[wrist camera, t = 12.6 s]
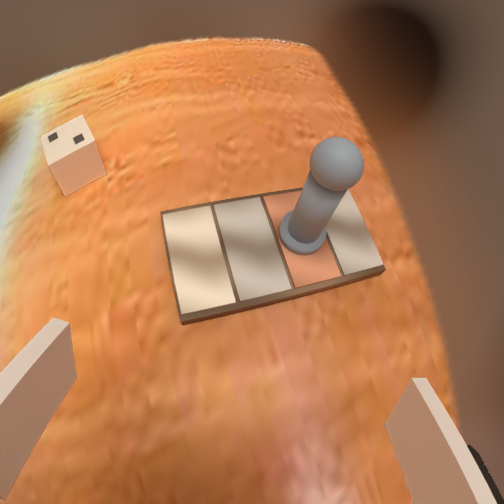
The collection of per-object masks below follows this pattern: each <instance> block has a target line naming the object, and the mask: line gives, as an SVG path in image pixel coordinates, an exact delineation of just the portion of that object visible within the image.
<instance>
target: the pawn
mask: <svg viewBox="0 0 504 504" xmlns="http://www.w3.org/2000/svg"><path fill="white" fill-rule="evenodd" d="M310 169H311V170H310V172H309V175H308V177H307V179H306V182H305V184H304V187H303V189H302V191H301V194H300V196H299V199H298V201H297V203H296V206H295V208H294V210H292V211H290V212H288V213H287V214H286V215H285V216H284V217H283V219H282V221H281V224H280V227H279V238H280V241H281V242H282V244H283V245H284V247H285V248H286V249H288V250H289V251H291V252H292V253H295V254H298V255H310V254H313V253H315V252H316V251H317V250H319V248H320V247H321V245H322V244H323V242H324V241H325V239H326V233H327V232H326V227H325V226H326V224H327V223H328V221H329V220H330V218H331V216H332V215H333V213H334V211H335V210H336V208H337V206H338V205H339V203H340V201H341V200H342V198H343V196H344V195H345V193H346V191H347V190H348V189H349V188H351V187H353V186H354V185H355V184H356V183H357V182H358V181H359V180H360V178H361V176H362V173H363V170H364V160H363V156H362V154H361V152H360V150H359V149H358V147H357V146H356V145H355V144H354V143H352V142H351V141H349V140H347V139H345V138H341V137H330V138H327V139H324V140H323V141H321V142H320V143H318V144H317V145H316V147H315V148H314V149H313V151H312V153H311V157H310Z"/></svg>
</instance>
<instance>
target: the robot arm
mask: <svg viewBox="0 0 504 504" xmlns="http://www.w3.org/2000/svg"><path fill="white" fill-rule="evenodd" d="M76 379H77V373H76V367H75V361H74V354H73V347H72V339H71V331H70V323H69V322H66V321H62V320H59V319H56V318H52V319H51V320H50V321H49V322H48V323H47V324H46V325H45V326H44V327H43V328H42V329H41V330H40V331H39V332H38V333H37V334H36V335H35V336H34V337H33V339H32V340H31V341H30V342H29V343H28V344H27V345H26V346H25V347H24V348H23V349H22V350H21V351H20V352H19V353H18V354H17V355H16V357H15V358H14V359H13V360H12V361H11V362H10V363H9V364H8V365H7V366H6V367H5V369H4V370H3V371H2V372H1V373H0V498H1V499H3V500H4V501H5V499H6V497H7V495H8V493H9V492H10V490H11V488H12V486H13V484H14V482H15V480H16V478H17V477H18V475H19V473H20V471H21V469H22V468H23V466H24V464H25V462H26V460H27V459H28V457H29V455H30V453H31V452H32V450H33V448H34V446H35V445H36V443H37V441H38V440H39V438H40V436H41V435H42V433H43V431H44V430H45V428H46V426H47V425H48V423H49V421H50V420H51V418H52V417H53V415H54V413H55V412H56V410H57V408H58V407H59V405H60V404H61V402H62V401H63V399H64V397H65V396H66V394H67V393H68V391H69V390H70V388H71V387H72V385H73V384H74V382H75V380H76ZM384 426H385V428H386V431H387V433H388V436H389V439H390V441H391V444H392V446H393V449H394V451H395V454H396V457H397V459H398V462H399V465H400V467H401V470H402V473H403V475H404V478H405V481H406V484H407V486H408V489H409V492H410V495H411V497H412V500H413V503H414V504H504V500H503V498H502V496H501V494H500V492H499V490H498V488H497V486H496V484H495V482H494V481H493V479H492V477H491V475H490V473H488V469H487V468H486V466H485V465H484V462H483V461H482V459H481V457H480V455H479V453H478V452H477V451H476V450H475V449H474V448H473V447H471V446H470V445H466V444H465V442H464V440H463V438H462V437H461V435H460V433H459V431H458V430H457V428H456V426H455V425H454V423H453V421H452V419H451V418H450V416H449V414H448V413H447V411H446V409H445V408H444V406H443V404H442V403H441V401H440V400H439V398H438V396H437V395H436V393H435V392H434V390H433V388H432V387H431V385H430V384H429V382H428V380H427V379H426V378H411V380H410V381H409V383H408V385H407V387H406V389H405V390H404V392H403V394H402V395H401V397H400V399H399V401H398V402H397V404H396V406H395V407H394V409H393V411H392V412H391V414H390V415H389V417H388V419H387V420H386V422H385V423H384Z"/></svg>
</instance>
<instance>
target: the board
mask: <svg viewBox="0 0 504 504" xmlns="http://www.w3.org/2000/svg"><path fill="white" fill-rule="evenodd" d="M302 189H303V188H296V189H289V190H283V191H276V192H269V193H263V194H257V195H250V196H244V197H238V198H232V199H226V200H221V201H215V202H209V203H204V204H198V205H193V206H188V207H182V208H177V209H172V210H167V211H162V212H160V213H161V220H162V226H163V232H164V238H165V244H166V249H167V255H168V260H169V266H170V271H171V276H172V281H173V286H174V291H175V296H176V301H177V306H178V310H179V315H180V319H181V323H182V325H185V324H190V323H195V322H199V321H204V320H208V319H213V318H217V317H222V316H226V315H230V314H235V313H239V312H243V311H247V310H251V309H255V308H260V307H264V306H268V305H272V304H276V303H280V302H284V301H287V300H291V299H295V298H299V297H303V296H307V295H310V294H314V293H318V292H322V291H325V290H329V289H332V288H336V287H340V286H343V285H347V284H350V283H354V282H357V281H361V280H364V279H368V278H371V277H374V276H378V275H380V274H382V273H383V272H384V271H385V270H386V269H385V267H384V265H383V262H382V260H381V257H380V255H379V253H378V251H377V248H376V246H375V244H374V242H373V239H372V237H371V235H370V233H369V231H368V229H367V226H366V224H365V222H364V220H363V218H362V216H361V214H360V212H359V210H358V208H357V206H356V204H355V202H354V200H353V198H352V196H351V194H350V192H349V190H347V191H346V193H345V195H344V196H343V198H342V200H341V201H340V203H339V205H338V206H337V208H336V210H335V211H334V213H333V215H332V216H331V218H330V220H329V221H328V223H327V224H326V226H325V227H326V232H327V233H326V239H325V241H324V242H323V244H322V245H321V247H320V248H319V250H317V251H316V252H315V253H313V254H310V255H298V254H295V253H292V252H291V251H289V250H288V249H286V248H285V247H284V245H283V244H282V242H281V241H280V238H279V227H280V224H281V221H282V219H283V217H284V216H285V215H286V214H287V213H288V212H290V211H292V210H294V208H295V206H296V203H297V201H298V199H299V196H300V194H301V191H302Z"/></svg>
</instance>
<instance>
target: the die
mask: <svg viewBox="0 0 504 504" xmlns="http://www.w3.org/2000/svg"><path fill="white" fill-rule="evenodd" d="M40 139H41V143H42V146H43V150H44V153H45V157H46V160H47V163H48V166H49V168H50V170H51V172H52V174H53V176H54V178H55V179H56V181H57V183H58V185H59V187H60V188H61V190H62V192H63V194H64V196H65V197H66V196H68V195H70V194H72V193H73V192H75V191H77V190H79V189H80V188H82V187H84V186H86V185H88V184H89V183H91V182H93V181H95V180H97V179H99V178H101V177H102V176H104V175H106V171H105V168H104V165H103V162H102V160H101V157H100V154H99V151H98V148H97V145H96V142H95V140H94V138H93V136H92V134H91V132H90V130H89V128H88V126H87V124H86V122H85V120H84V117H83V115H80V116H78V117H76V118H74V119H72V120H70V121H68V122H66V123H64V124H63V125H61V126H59V127H57V128H55V129H53V130H51V131H50V132H48V133H46V134H44V135H42V136H41V137H40Z"/></svg>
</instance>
